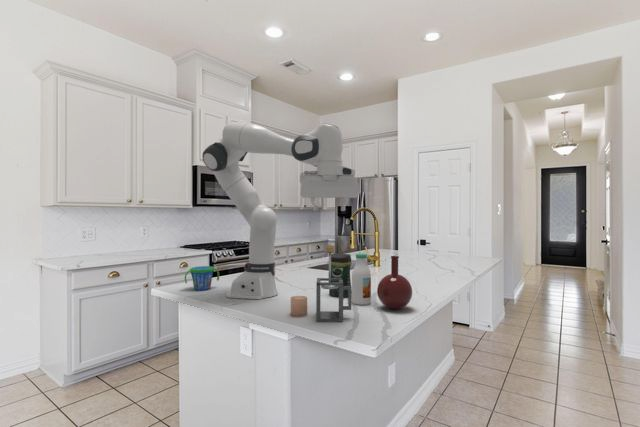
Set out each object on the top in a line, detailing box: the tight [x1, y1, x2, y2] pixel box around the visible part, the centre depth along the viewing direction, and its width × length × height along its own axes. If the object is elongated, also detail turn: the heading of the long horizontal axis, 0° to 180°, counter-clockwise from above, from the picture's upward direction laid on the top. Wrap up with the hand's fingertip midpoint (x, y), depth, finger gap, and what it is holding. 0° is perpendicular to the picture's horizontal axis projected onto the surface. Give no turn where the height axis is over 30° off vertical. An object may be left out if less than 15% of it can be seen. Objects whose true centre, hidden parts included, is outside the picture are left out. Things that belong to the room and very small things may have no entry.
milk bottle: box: [351, 252, 372, 306], centre depth 146 cm, size 8×8×20 cm
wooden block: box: [290, 295, 308, 318], centre depth 130 cm, size 6×6×6 cm
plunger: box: [320, 244, 338, 290], centre depth 125 cm, size 6×6×15 cm
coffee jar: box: [328, 252, 352, 298], centre depth 159 cm, size 10×8×19 cm
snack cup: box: [184, 265, 220, 291], centre depth 170 cm, size 16×10×10 cm
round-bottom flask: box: [376, 255, 413, 310], centre depth 138 cm, size 13×13×20 cm
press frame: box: [315, 277, 352, 323], centre depth 125 cm, size 12×9×13 cm
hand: (329, 210), depth 125 cm, fingers open, 8 cm apart
